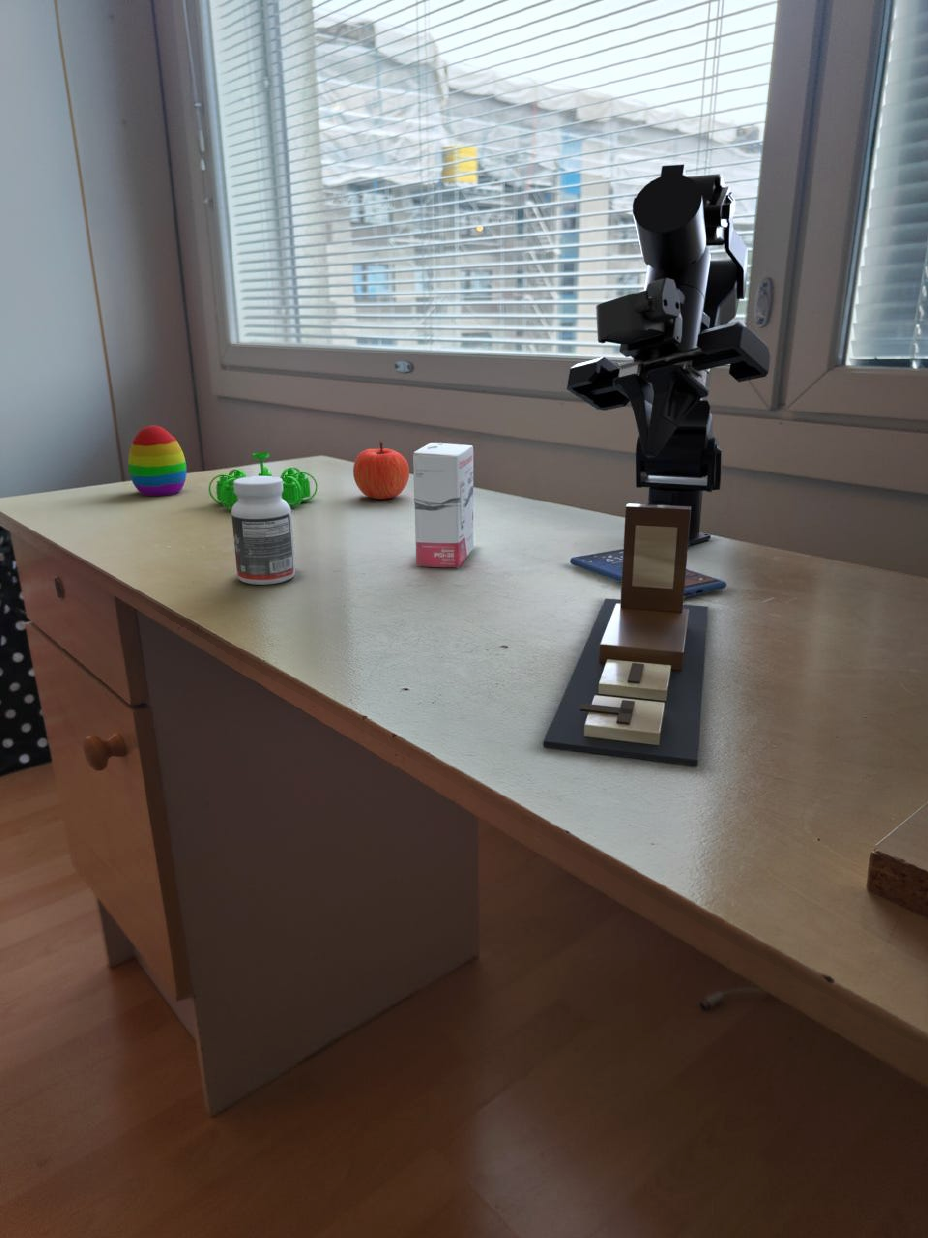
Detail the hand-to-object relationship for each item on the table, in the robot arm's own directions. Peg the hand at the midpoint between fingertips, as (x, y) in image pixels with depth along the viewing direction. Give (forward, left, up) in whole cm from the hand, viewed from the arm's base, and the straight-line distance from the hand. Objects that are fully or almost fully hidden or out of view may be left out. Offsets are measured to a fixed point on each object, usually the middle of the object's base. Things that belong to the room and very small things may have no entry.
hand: (649, 455), depth 79 cm
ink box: (+6, -21, -13) cm, 26 cm away
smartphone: (-2, -1, -13) cm, 13 cm away
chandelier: (+4, -61, -13) cm, 63 cm away
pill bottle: (+24, -28, -13) cm, 39 cm away
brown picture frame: (+13, +10, -12) cm, 21 cm away
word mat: (+17, +12, -12) cm, 24 cm away
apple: (-10, -52, -13) cm, 55 cm away
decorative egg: (+11, -79, -13) cm, 81 cm away
